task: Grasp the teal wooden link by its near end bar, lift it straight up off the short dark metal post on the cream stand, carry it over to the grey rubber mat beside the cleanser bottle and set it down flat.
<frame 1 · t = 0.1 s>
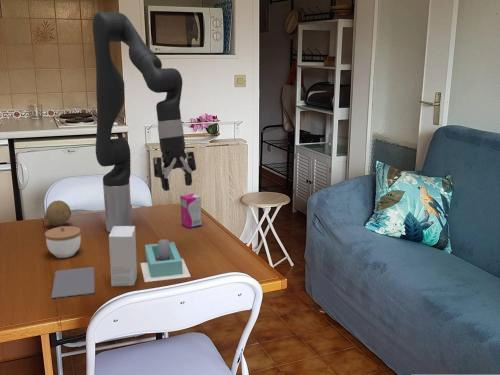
hand: (177, 187, 163), 22 cm above the table, tool pointing down, fingers open, 8 cm apart
lidded jar: (65, 254, 170), on the table
natural sponge: (60, 227, 196), on the table
grey mat: (76, 282, 149), on the table
supplement box: (191, 225, 197), on the table
post stand: (164, 272, 156), on the table
teal link: (163, 265, 159), point 1 cm above the table, touching post stand
skincare box: (125, 283, 150), on the table
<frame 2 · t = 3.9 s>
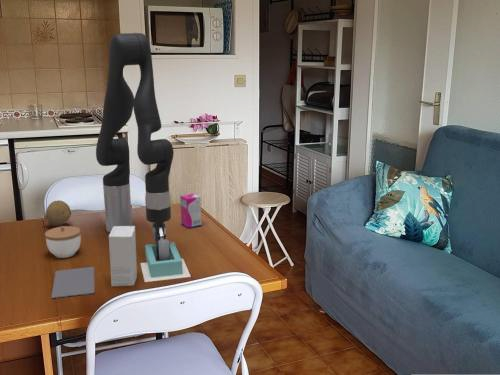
hand: (160, 257, 166), 0 cm above the table, tool pointing down, fingers closed on teal link, 2 cm apart
teal link: (163, 265, 159), point 1 cm above the table, touching gripper
everything else where it was.
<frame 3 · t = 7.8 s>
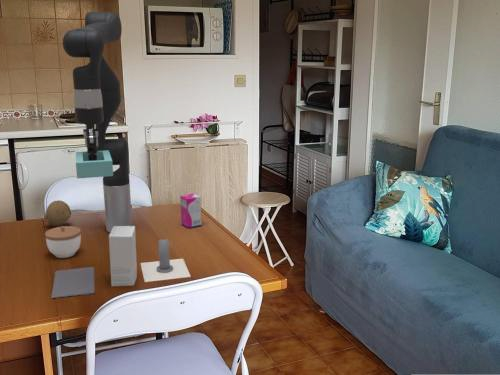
hand: (93, 166, 151), 31 cm above the table, tool pointing down, fingers closed on teal link
teal link: (94, 170, 144), point 32 cm above the table, touching gripper
everything else where it was.
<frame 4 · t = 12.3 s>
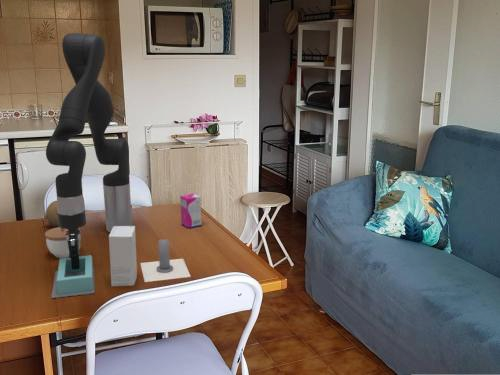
hand: (76, 264, 155), 2 cm above the table, tool pointing down, fingers open, 5 cm apart
teal link: (76, 280, 150), resting on grey mat
everything else where it was.
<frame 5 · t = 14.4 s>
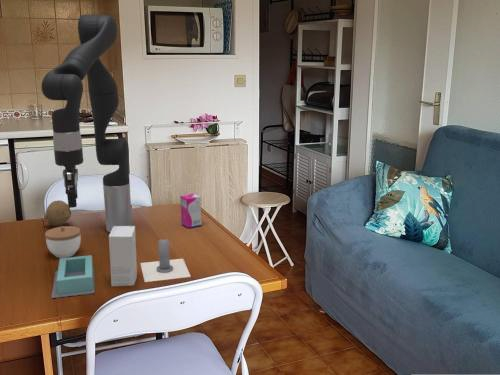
hand: (73, 202, 152), 21 cm above the table, tool pointing down, fingers open, 8 cm apart
nothing on the table moved.
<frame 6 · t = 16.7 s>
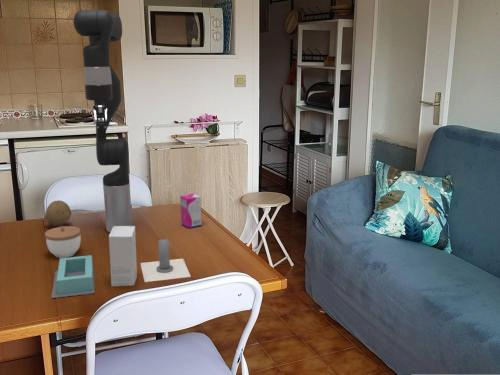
hand: (102, 138, 156), 38 cm above the table, tool pointing down, fingers open, 8 cm apart
nothing on the table moved.
at the end: teal link inside the target area on the grey mat (0.4 cm from its centre), point 0.4 cm above the grey mat's base; teal link resting on grey mat; the gripper is holding nothing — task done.
